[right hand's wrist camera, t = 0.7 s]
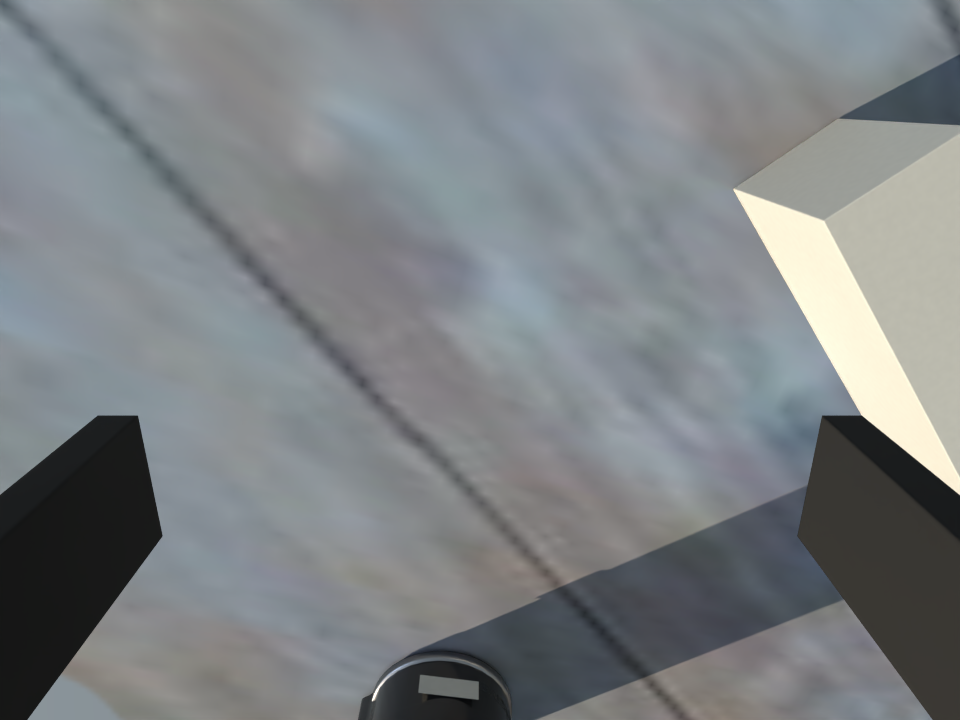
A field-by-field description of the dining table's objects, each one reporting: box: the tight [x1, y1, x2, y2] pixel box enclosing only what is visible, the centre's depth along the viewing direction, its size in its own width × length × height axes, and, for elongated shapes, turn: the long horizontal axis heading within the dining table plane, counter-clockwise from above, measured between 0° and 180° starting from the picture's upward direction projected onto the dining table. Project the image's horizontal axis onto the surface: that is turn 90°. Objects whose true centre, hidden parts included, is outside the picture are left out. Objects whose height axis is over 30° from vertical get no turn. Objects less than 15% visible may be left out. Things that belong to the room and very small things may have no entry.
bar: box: [734, 119, 960, 495], centre depth 31 cm, size 26×6×9 cm, turn 36°
